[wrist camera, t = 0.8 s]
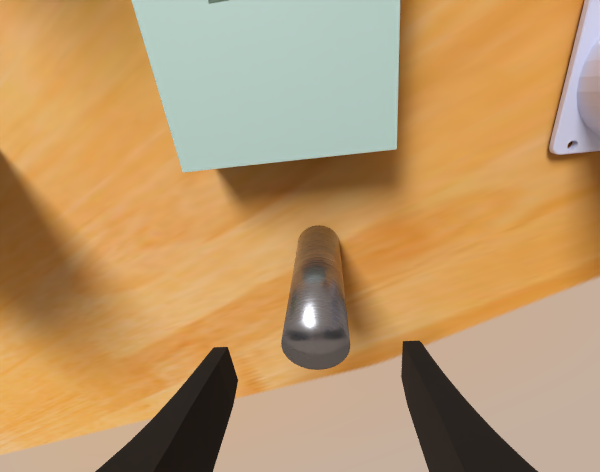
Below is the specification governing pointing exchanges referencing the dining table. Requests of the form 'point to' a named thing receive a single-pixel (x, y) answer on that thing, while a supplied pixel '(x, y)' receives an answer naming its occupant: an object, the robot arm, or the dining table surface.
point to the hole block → (274, 77)
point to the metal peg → (317, 303)
